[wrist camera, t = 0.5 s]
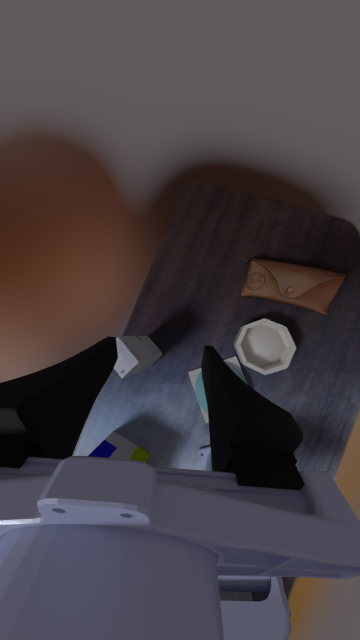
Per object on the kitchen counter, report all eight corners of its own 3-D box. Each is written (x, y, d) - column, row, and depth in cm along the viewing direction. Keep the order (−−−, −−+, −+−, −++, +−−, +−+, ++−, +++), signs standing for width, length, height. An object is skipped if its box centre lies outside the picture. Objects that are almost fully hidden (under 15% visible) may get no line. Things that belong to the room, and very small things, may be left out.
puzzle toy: (113, 430, 37) (79, 464, 27) (150, 453, 35) (127, 498, 25) (97, 470, 37) (57, 519, 27) (133, 495, 35) (103, 558, 25)
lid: (257, 408, 31) (264, 419, 27) (205, 423, 33) (205, 435, 29) (235, 356, 33) (239, 358, 29) (188, 372, 35) (185, 376, 31)
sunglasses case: (238, 297, 35) (247, 272, 29) (241, 277, 39) (250, 252, 33) (330, 316, 31) (361, 292, 26) (323, 292, 35) (349, 267, 29)
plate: (256, 407, 32) (257, 408, 31) (205, 422, 33) (205, 423, 33) (235, 355, 34) (235, 356, 33) (188, 371, 35) (188, 372, 35)
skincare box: (163, 353, 37) (141, 362, 25) (150, 366, 37) (122, 381, 25) (147, 335, 38) (118, 334, 26) (134, 347, 38) (100, 352, 26)
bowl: (295, 360, 31) (303, 363, 28) (246, 375, 33) (249, 379, 30) (273, 315, 33) (279, 312, 30) (228, 331, 34) (229, 330, 31)
